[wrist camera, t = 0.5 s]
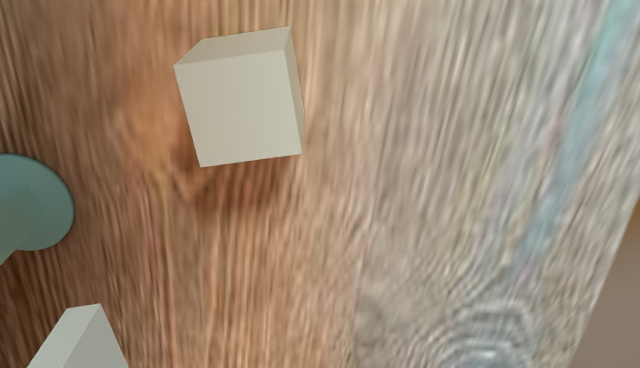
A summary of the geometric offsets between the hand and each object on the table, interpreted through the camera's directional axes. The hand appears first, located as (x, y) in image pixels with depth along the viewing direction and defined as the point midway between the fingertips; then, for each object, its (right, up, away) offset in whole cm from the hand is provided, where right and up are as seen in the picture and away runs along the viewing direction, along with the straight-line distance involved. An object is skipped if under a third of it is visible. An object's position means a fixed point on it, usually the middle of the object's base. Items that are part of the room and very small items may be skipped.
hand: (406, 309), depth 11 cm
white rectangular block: (-6, +9, +20) cm, 22 cm away
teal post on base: (-22, +1, +23) cm, 32 cm away
